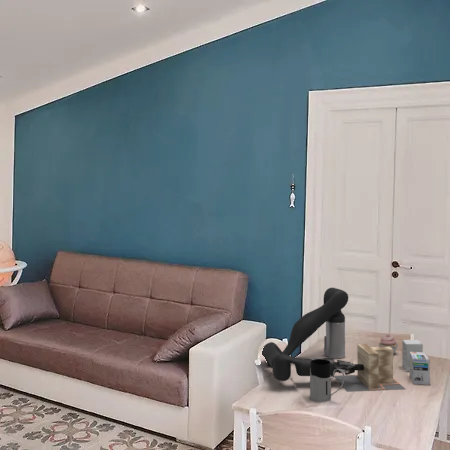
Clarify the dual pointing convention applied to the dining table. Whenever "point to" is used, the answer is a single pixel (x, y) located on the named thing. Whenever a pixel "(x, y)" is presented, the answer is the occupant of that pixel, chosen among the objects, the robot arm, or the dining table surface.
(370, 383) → the maple T block
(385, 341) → the cupcake
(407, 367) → the supplement box
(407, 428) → the dining table surface
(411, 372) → the light bulb box
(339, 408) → the dining table surface
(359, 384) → the charcoal board
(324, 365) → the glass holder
